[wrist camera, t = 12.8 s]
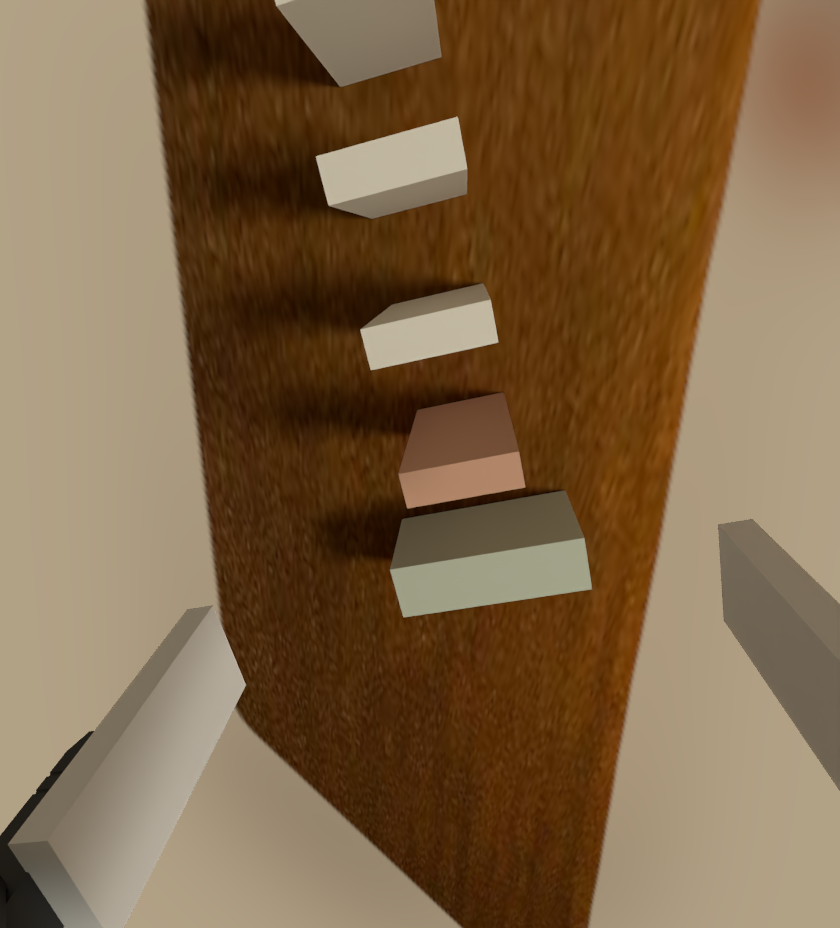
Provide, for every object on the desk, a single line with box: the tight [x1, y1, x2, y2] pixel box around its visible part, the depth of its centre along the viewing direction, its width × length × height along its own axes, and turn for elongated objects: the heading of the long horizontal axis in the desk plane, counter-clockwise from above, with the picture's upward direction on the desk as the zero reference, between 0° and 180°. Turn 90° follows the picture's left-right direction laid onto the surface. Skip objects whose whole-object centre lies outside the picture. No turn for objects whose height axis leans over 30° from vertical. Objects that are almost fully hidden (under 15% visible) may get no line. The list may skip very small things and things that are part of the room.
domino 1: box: [275, 0, 441, 87], centre depth 22 cm, size 2×5×10 cm, turn 103°
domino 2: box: [316, 117, 467, 219], centre depth 24 cm, size 2×5×10 cm, turn 103°
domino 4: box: [398, 392, 525, 509], centre depth 28 cm, size 2×5×10 cm, turn 103°
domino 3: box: [360, 283, 498, 370], centre depth 26 cm, size 2×5×10 cm, turn 103°
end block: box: [390, 490, 592, 617], centre depth 33 cm, size 3×10×6 cm, turn 103°
